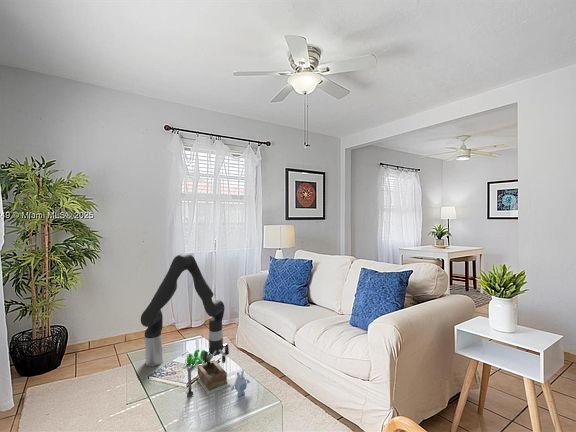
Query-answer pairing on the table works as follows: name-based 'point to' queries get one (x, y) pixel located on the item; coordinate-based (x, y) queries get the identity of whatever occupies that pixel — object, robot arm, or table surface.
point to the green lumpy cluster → (189, 356)
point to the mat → (213, 389)
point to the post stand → (189, 383)
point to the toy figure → (240, 384)
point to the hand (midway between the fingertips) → (216, 365)
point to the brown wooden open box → (215, 380)
